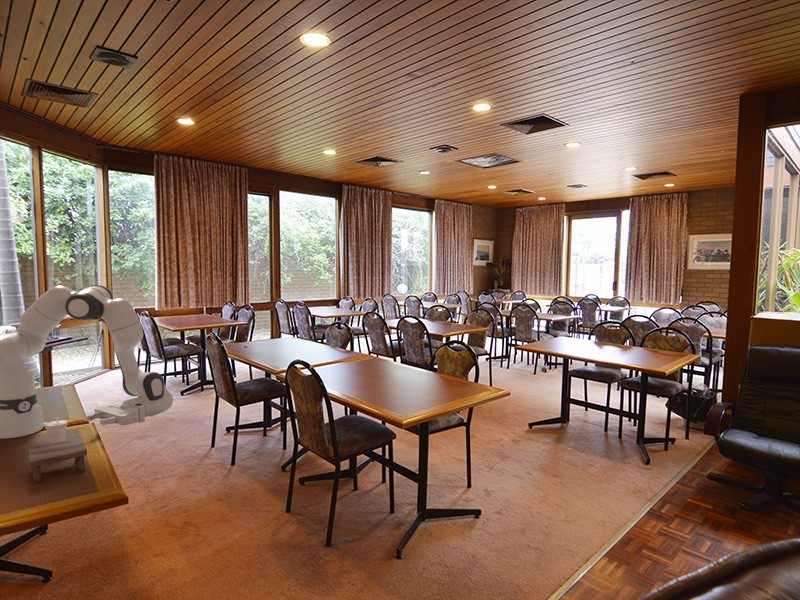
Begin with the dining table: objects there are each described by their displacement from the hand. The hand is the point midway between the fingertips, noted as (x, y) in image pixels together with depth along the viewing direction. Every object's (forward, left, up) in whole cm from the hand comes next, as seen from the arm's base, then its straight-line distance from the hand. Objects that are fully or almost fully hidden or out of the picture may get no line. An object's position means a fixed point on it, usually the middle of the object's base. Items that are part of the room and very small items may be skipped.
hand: (94, 420), depth 175 cm
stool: (+19, -20, -7) cm, 28 cm away
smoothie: (0, -12, -7) cm, 14 cm away
